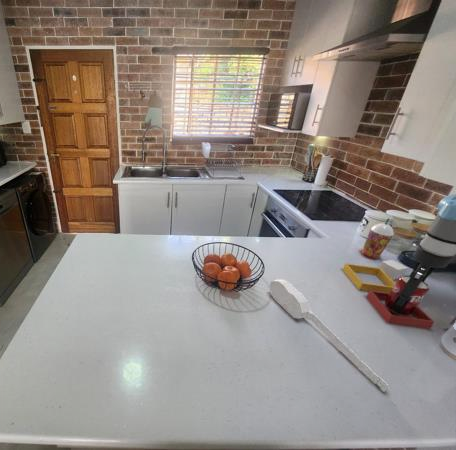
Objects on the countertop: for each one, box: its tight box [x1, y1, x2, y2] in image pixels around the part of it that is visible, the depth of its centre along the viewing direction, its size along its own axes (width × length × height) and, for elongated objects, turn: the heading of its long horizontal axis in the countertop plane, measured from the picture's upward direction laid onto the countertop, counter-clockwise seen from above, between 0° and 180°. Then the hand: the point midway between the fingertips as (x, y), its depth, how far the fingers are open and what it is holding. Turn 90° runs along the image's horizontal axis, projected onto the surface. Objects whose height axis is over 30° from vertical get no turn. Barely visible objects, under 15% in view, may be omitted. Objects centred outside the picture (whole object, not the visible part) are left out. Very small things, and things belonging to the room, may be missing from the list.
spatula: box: [268, 279, 389, 392], centre depth 75 cm, size 38×8×4 cm
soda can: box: [383, 274, 430, 317], centre depth 82 cm, size 7×7×12 cm
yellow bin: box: [342, 263, 396, 293], centre depth 100 cm, size 13×13×4 cm
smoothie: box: [361, 218, 395, 260], centre depth 115 cm, size 8×8×20 cm
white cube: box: [378, 259, 409, 281], centre depth 104 cm, size 6×6×6 cm
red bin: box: [365, 291, 435, 330], centre depth 85 cm, size 12×12×4 cm
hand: (398, 306), depth 85 cm, fingers closed on soda can, 7 cm apart
